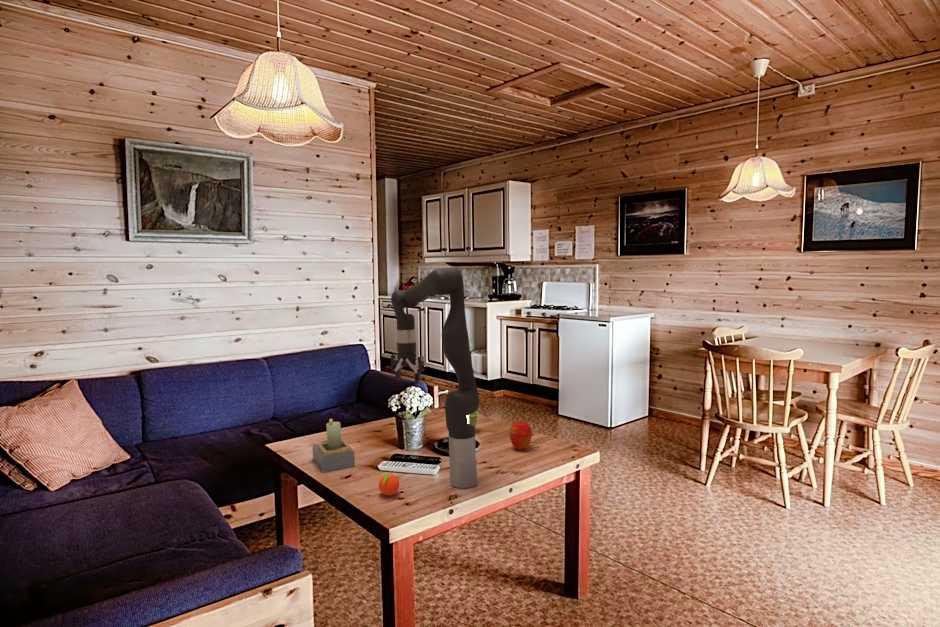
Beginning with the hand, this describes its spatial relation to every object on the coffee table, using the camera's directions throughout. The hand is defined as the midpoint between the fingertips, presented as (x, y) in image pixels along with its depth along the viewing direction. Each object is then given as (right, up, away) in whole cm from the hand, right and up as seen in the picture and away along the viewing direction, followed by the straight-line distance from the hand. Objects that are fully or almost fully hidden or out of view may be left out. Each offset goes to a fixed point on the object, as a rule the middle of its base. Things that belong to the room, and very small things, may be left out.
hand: (407, 381), depth 225 cm
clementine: (-3, -34, -35) cm, 49 cm away
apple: (+45, -29, +7) cm, 54 cm away
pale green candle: (-27, -25, -7) cm, 38 cm away
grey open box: (-28, -31, -4) cm, 42 cm away
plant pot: (+24, -27, +29) cm, 46 cm away
